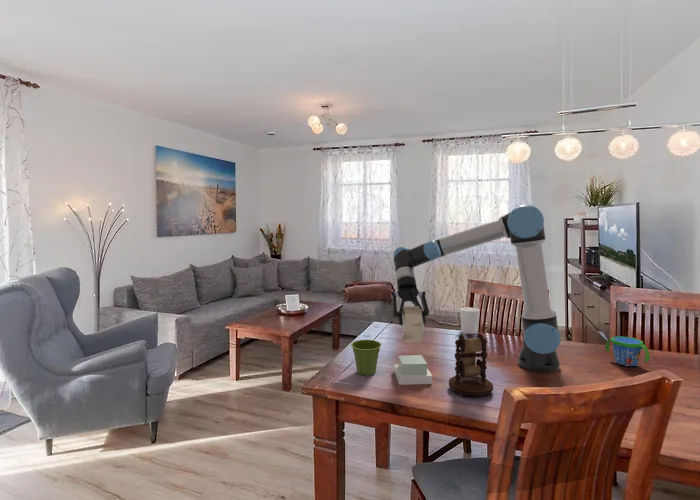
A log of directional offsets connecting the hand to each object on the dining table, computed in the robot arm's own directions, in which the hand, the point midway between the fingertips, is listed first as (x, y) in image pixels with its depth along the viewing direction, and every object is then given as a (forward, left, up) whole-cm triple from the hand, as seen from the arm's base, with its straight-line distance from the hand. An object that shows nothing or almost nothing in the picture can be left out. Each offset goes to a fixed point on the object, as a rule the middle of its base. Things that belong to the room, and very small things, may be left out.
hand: (413, 332), depth 144 cm
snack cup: (-61, -66, -19) cm, 92 cm away
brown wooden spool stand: (-19, -5, -19) cm, 27 cm away
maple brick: (+2, -3, -4) cm, 5 cm away
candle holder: (+7, -74, -19) cm, 76 cm away
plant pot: (+19, +3, -19) cm, 27 cm away
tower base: (+2, -3, -18) cm, 19 cm away
